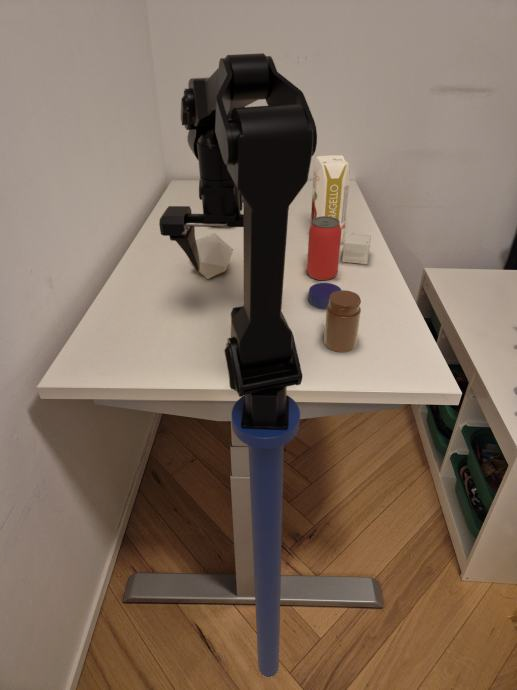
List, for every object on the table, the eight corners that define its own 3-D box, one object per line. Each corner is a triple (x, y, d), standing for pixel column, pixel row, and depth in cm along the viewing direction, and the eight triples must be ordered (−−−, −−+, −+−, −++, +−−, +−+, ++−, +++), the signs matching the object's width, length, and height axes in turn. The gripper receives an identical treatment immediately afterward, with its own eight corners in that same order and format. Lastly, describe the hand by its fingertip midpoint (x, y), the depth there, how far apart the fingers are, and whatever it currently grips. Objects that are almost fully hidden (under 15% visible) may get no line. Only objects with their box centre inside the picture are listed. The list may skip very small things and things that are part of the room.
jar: (358, 352, 79) (364, 307, 73) (325, 352, 79) (328, 306, 74) (354, 333, 83) (359, 289, 78) (322, 333, 83) (326, 289, 78)
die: (217, 262, 108) (187, 232, 102) (246, 251, 103) (216, 219, 97) (206, 290, 104) (174, 261, 98) (235, 280, 98) (204, 248, 92)
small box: (368, 254, 109) (371, 234, 106) (367, 265, 104) (370, 244, 101) (344, 252, 110) (346, 232, 107) (341, 262, 106) (343, 242, 103)
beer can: (302, 278, 100) (305, 224, 93) (311, 265, 105) (314, 213, 98) (333, 283, 98) (337, 229, 91) (340, 270, 103) (345, 217, 96)
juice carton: (338, 231, 120) (345, 153, 109) (345, 245, 113) (353, 164, 102) (309, 232, 120) (312, 154, 108) (314, 246, 113) (318, 165, 102)
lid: (329, 289, 96) (330, 279, 94) (347, 304, 91) (348, 294, 90) (302, 297, 94) (302, 286, 92) (318, 312, 89) (319, 302, 88)
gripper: (284, 160, 74) (283, 250, 84) (169, 159, 76) (180, 249, 85) (282, 181, 65) (280, 280, 75) (151, 181, 67) (166, 278, 76)
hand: (225, 270), depth 78 cm, fingers open, 9 cm apart
